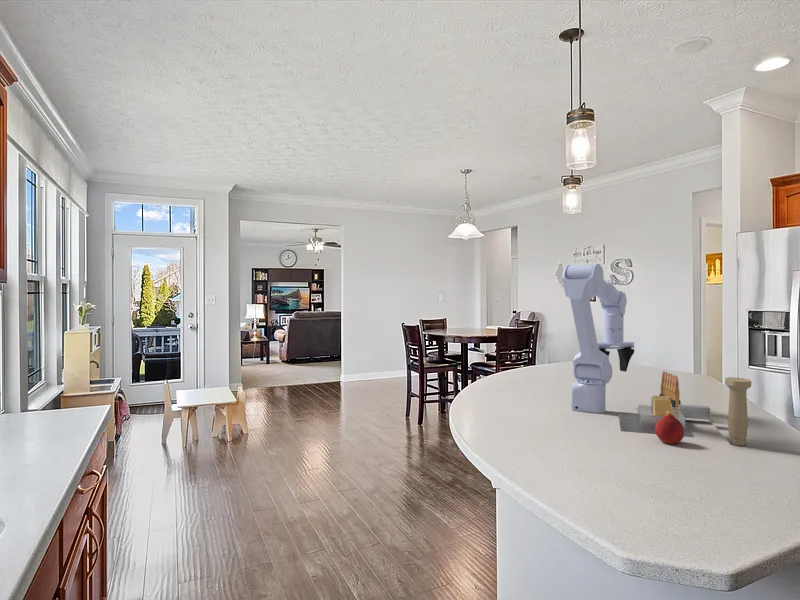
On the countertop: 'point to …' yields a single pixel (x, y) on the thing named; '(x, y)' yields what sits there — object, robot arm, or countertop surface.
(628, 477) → the countertop surface
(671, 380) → the ammunition clip
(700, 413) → the grey stepped platform
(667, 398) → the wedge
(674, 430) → the onion
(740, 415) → the handle
